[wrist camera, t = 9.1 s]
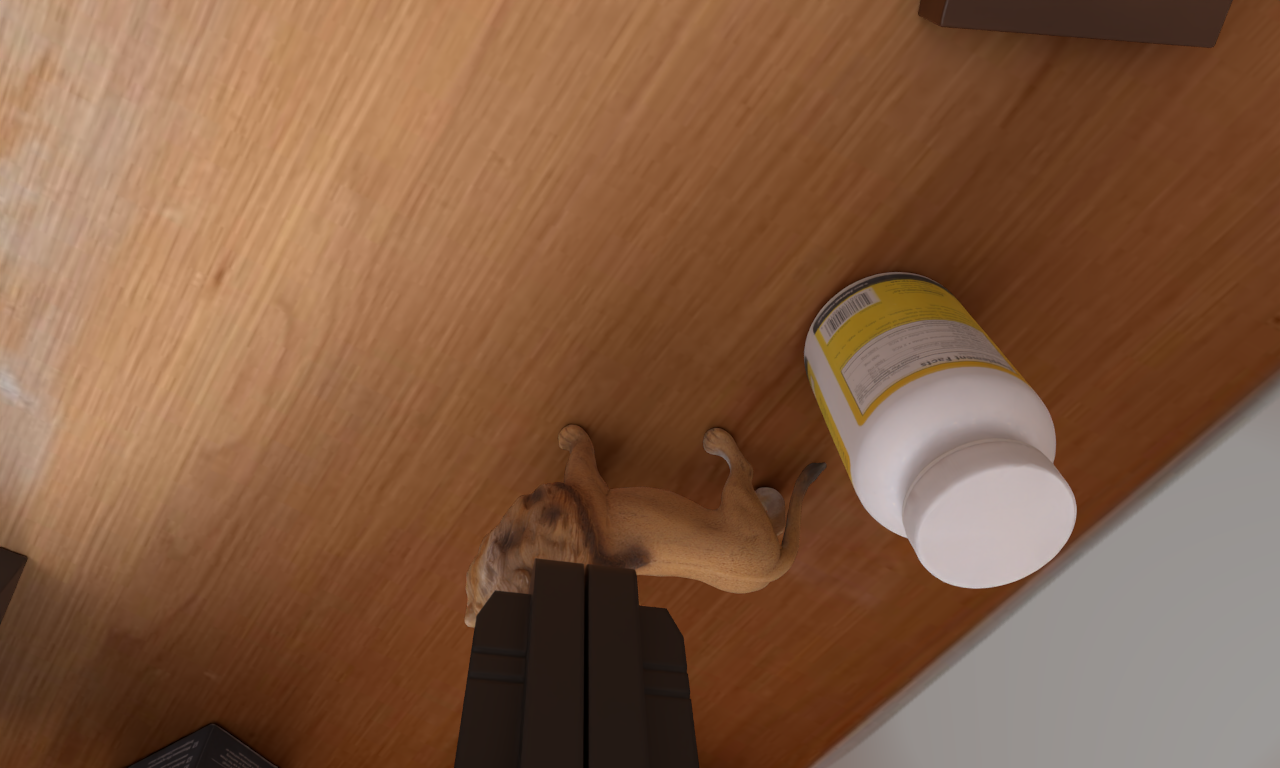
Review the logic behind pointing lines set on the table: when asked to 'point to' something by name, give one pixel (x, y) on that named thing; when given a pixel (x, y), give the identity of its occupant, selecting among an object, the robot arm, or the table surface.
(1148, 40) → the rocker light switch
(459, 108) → the table surface
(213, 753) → the box
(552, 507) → the lion figurine
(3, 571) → the dark block with slot
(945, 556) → the pill bottle
